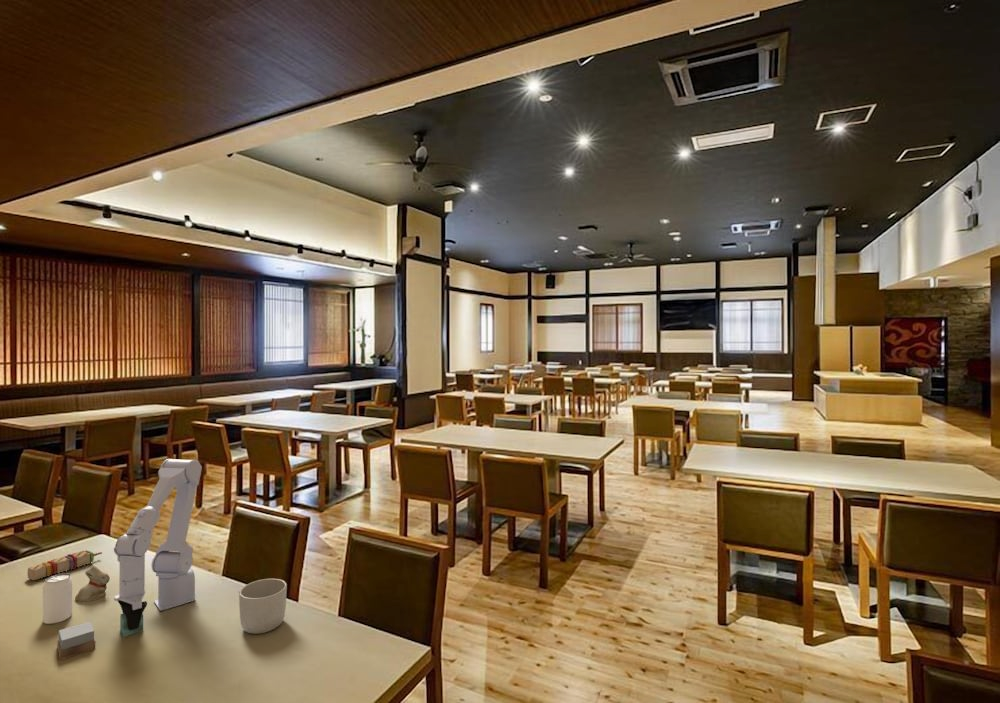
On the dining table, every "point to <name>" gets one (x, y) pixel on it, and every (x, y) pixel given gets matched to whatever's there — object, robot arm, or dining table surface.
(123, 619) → the teal block
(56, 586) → the can
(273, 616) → the planter
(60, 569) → the skewer
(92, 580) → the chocolate bunny
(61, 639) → the tower top
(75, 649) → the tower base
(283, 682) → the dining table surface
